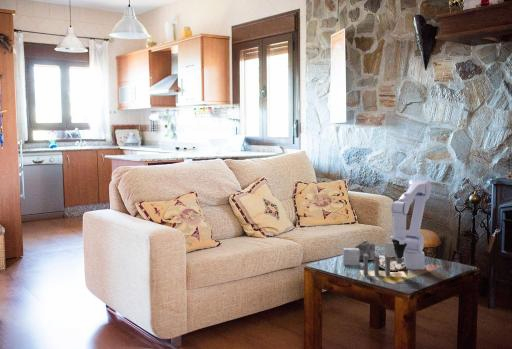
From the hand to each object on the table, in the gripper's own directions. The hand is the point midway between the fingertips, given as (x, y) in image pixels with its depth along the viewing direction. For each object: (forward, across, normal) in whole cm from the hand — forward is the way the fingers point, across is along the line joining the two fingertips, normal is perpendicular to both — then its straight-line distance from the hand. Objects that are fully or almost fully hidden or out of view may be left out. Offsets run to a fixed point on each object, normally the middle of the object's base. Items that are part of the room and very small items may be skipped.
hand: (398, 256), depth 243 cm
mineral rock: (+10, -30, -14) cm, 35 cm away
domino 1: (+9, 0, -10) cm, 13 cm away
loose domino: (+3, 0, 0) cm, 3 cm away
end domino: (+9, 0, -15) cm, 17 cm away
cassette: (+10, -36, +4) cm, 38 cm away
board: (+10, -2, -7) cm, 12 cm away
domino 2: (+9, 0, -5) cm, 10 cm away
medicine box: (+10, -17, -20) cm, 28 cm away
